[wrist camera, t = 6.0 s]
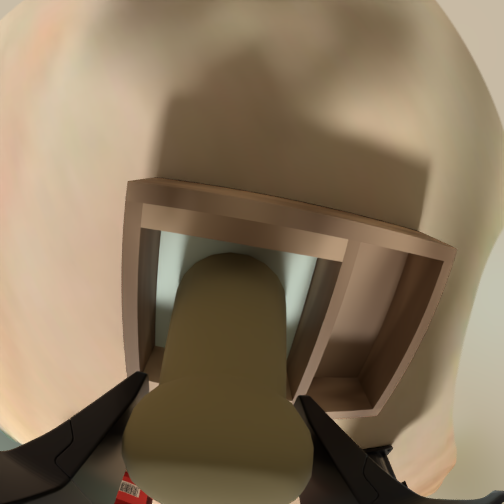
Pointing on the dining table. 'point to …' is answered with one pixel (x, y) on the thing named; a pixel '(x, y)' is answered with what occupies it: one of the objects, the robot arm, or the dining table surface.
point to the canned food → (131, 493)
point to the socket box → (288, 284)
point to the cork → (222, 395)
